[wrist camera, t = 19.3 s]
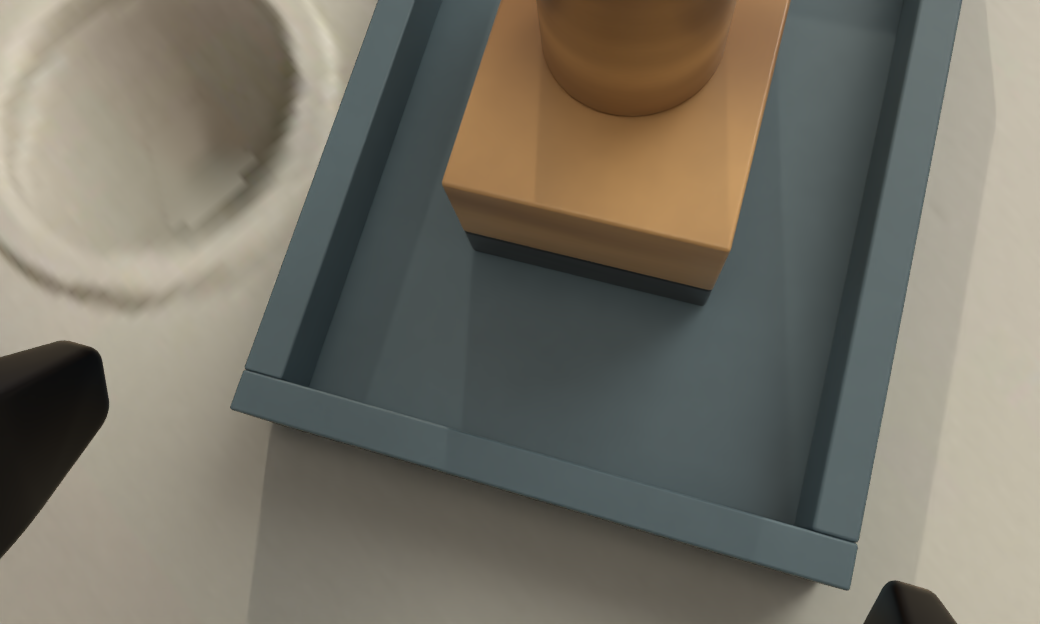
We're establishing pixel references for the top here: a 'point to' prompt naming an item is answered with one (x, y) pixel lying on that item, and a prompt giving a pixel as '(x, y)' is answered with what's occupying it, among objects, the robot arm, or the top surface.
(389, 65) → the tray
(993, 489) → the top surface
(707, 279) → the wooden rubber stamp
